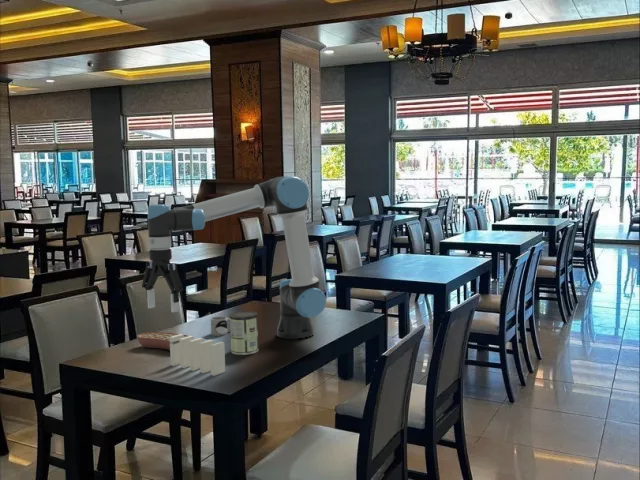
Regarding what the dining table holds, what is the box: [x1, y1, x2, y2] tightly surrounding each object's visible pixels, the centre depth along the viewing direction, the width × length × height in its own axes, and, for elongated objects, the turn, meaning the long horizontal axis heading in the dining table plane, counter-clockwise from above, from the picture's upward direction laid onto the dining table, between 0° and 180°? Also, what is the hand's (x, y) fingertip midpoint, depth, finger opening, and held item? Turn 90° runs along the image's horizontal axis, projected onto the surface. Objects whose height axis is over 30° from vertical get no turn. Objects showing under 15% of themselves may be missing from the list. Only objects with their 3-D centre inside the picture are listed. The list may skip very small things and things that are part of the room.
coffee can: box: [228, 310, 259, 356], centre depth 234 cm, size 10×10×14 cm
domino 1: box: [169, 333, 185, 367], centre depth 220 cm, size 2×5×10 cm, turn 143°
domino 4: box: [199, 339, 215, 374], centre depth 211 cm, size 2×5×10 cm, turn 143°
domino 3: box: [189, 337, 204, 372], centre depth 214 cm, size 2×5×10 cm, turn 143°
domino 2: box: [179, 335, 195, 369], centre depth 217 cm, size 2×5×10 cm, turn 143°
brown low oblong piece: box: [136, 331, 189, 351], centre depth 241 cm, size 23×10×5 cm, turn 64°
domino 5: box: [210, 341, 226, 377], centre depth 208 cm, size 2×5×10 cm, turn 143°
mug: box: [210, 315, 230, 337], centre depth 263 cm, size 10×7×7 cm
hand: (163, 309), depth 222 cm, fingers open, 12 cm apart
